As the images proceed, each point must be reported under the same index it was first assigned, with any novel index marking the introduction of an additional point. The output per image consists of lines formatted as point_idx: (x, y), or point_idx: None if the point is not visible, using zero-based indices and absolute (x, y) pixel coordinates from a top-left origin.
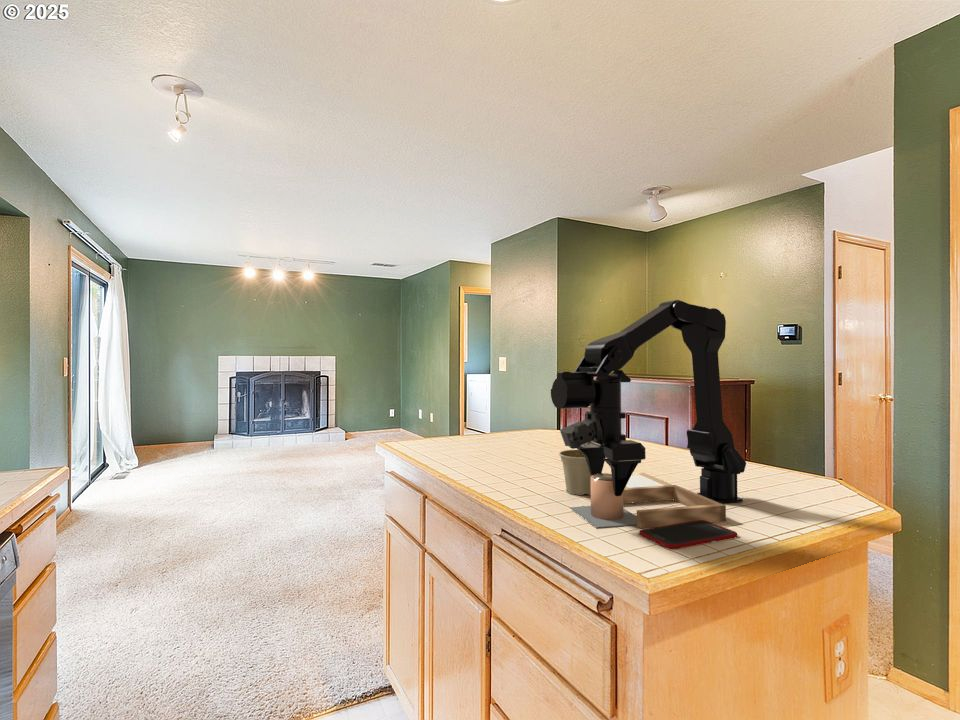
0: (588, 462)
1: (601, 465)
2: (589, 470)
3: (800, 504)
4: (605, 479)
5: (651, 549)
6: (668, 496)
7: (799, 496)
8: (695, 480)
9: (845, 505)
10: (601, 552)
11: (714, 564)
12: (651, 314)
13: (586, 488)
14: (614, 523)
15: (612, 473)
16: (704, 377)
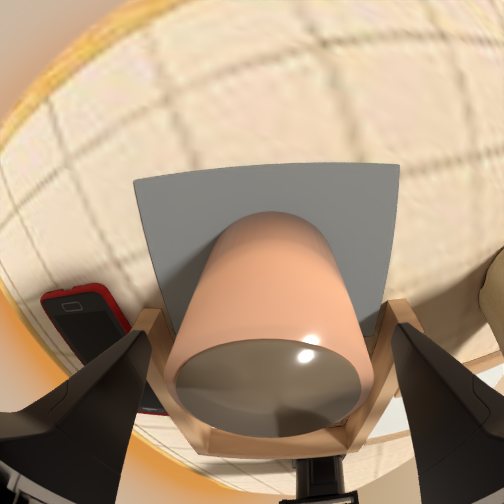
0: (470, 400)
1: (416, 430)
2: (450, 359)
3: (266, 479)
4: (185, 376)
5: (33, 263)
6: (348, 427)
7: (294, 484)
8: (411, 448)
9: (254, 487)
10: (8, 153)
11: (20, 316)
12: None
13: (491, 295)
14: (169, 256)
15: (61, 402)
16: None
